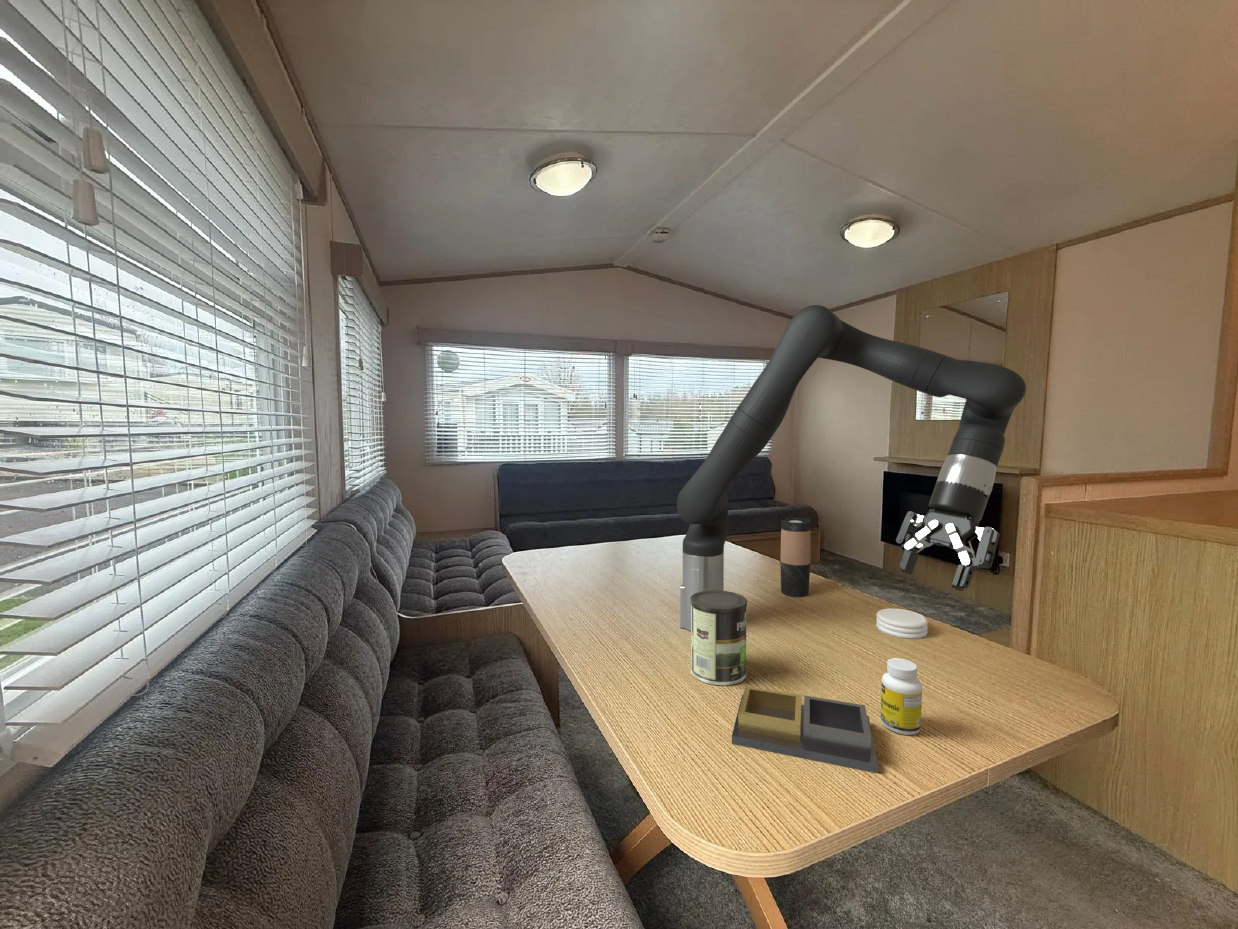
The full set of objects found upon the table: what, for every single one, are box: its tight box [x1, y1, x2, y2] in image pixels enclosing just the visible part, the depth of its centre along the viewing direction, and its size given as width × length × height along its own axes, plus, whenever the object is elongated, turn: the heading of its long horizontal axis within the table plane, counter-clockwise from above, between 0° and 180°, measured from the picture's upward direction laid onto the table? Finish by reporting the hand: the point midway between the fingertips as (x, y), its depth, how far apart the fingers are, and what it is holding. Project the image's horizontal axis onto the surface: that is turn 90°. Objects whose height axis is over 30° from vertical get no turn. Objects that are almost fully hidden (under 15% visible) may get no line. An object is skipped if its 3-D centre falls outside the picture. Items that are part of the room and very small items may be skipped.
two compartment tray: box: [731, 685, 879, 774], centre depth 77 cm, size 19×12×4 cm, turn 70°
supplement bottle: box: [880, 657, 923, 736], centre depth 79 cm, size 5×5×10 cm
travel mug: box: [779, 517, 812, 598], centre depth 140 cm, size 8×8×20 cm
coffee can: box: [690, 590, 748, 686], centre depth 96 cm, size 10×10×14 cm
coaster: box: [875, 608, 929, 640], centre depth 115 cm, size 10×10×4 cm
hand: (930, 581), depth 84 cm, fingers open, 8 cm apart
